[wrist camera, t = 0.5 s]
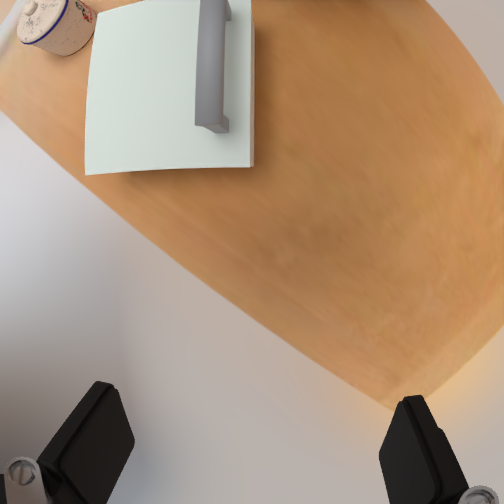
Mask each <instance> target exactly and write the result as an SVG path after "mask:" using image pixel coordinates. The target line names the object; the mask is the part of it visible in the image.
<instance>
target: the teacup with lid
mask: <svg viewBox="0 0 504 504" xmlns="http://www.w3.org/2000/svg"><path fill="white" fill-rule="evenodd" d="M96 21H97V18H96V14H95V12H94V11H93V10H92V9H91V8H89V7H88V6H87V5H85V4H84V3H82V2H81V1H80V0H31V1H30V2H29V3H28V4H27V5H26V6H25V8H24V10H23V13H22V14H21V16H20V19H19V22H18V25H17V35H18V38H19V40H20V41H21V42H22V43H24V44H31V45H34V46H36V47H39V48H42V49H44V50H47V51H49V52H52V53H54V54H57V55H59V56H67V55H71V54H73V53H75V52H76V51H78V50H79V49H81V48H82V47H83V46H84V45H85V44H86V43H87V42H88V40H89V39H90V37H91V36H92V34H93V32H94V30H95V27H96Z"/></svg>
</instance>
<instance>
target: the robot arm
mask: <svg viewBox="0 0 504 504" xmlns="http://www.w3.org/2000/svg"><path fill="white" fill-rule="evenodd" d="M134 443H135V439H134V436H133V433H132V430H131V428H130V425H129V422H128V419H127V417H126V414H125V411H124V408H123V405H122V402H121V399H120V395H119V392H118V390H117V389H115V388H114V386H113V385H112V384H110V383H105V382H100V381H96V382H95V383H94V384H93V385H92V387H91V388H90V389H89V391H88V392H87V393H86V394H85V396H84V397H83V398H82V400H81V401H80V402H79V403H78V405H77V406H76V408H75V409H74V410H73V411H72V413H71V414H70V415H69V417H68V418H67V419H66V421H65V422H64V423H63V425H62V426H61V427H60V429H59V430H58V432H57V433H56V434H55V435H54V437H53V438H52V440H51V441H50V442H49V444H48V445H47V447H46V448H45V449H44V451H43V452H42V453H41V455H40V456H39V457H38V460H37V461H36V462H35V461H34V460H33V459H31V458H28V457H18V458H14V459H13V460H11V461H10V462H9V463H8V464H7V465H6V468H5V470H4V474H0V504H106V503H107V501H108V499H109V497H110V495H111V493H112V491H113V489H114V486H115V484H116V482H117V480H118V478H119V476H120V474H121V472H122V470H123V468H124V465H125V464H126V462H127V460H128V457H129V456H130V453H131V451H132V449H133V447H134ZM379 461H380V465H381V469H382V473H383V477H384V481H385V485H386V489H387V493H388V498H389V502H390V504H499V499H498V496H497V494H496V493H495V492H494V491H493V490H492V489H490V488H489V487H486V486H474V487H472V488H469V486H468V484H467V481H466V479H465V477H464V474H463V472H462V470H461V468H460V465H459V463H458V461H457V459H456V456H455V454H454V452H453V450H452V448H451V446H450V444H449V442H448V440H447V437H446V436H445V433H444V432H443V430H442V429H440V428H438V426H437V424H436V422H435V420H434V418H433V416H432V414H431V412H430V410H429V408H428V406H427V404H426V402H425V400H424V398H423V396H422V395H414V396H407V397H404V398H403V400H402V401H400V402H399V403H398V404H397V407H396V410H395V413H394V416H393V418H392V421H391V424H390V426H389V429H388V431H387V434H386V437H385V439H384V442H383V444H382V446H381V449H380V451H379Z"/></svg>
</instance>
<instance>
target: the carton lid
mask: <svg viewBox="0 0 504 504" xmlns="http://www.w3.org/2000/svg"><path fill="white" fill-rule="evenodd" d="M251 49H252V0H146V1H141V2H137V3H133V4H129V5H125V6H122V7H118V8H114V9H111V10H108V11H104V12H101V13H98V16H97V21H96V27H95V33H94V39H93V46H92V53H91V61H90V69H89V79H88V90H87V104H86V123H85V175H94V174H104V173H116V172H129V171H143V170H160V169H182V168H221V167H251Z"/></svg>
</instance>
